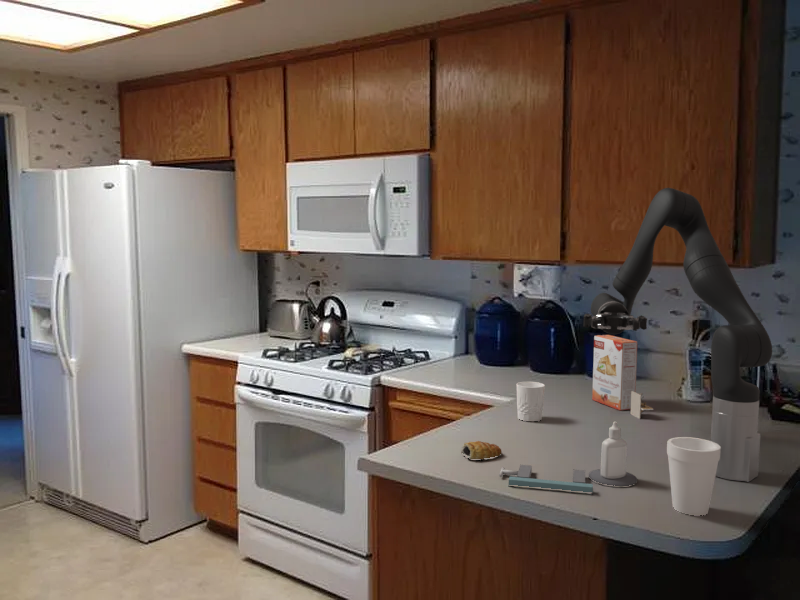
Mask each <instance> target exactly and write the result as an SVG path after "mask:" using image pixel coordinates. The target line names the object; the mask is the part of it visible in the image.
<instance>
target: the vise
mask: <svg viewBox="0 0 800 600" xmlns="http://www.w3.org/2000/svg"><path fill="white" fill-rule="evenodd" d="M532 467H533V466H532V464H531V465H529V464H520V465H519V467H518V470H511V469H506V468H505V467H503V466H502V467H501V468H500V472H499V475H498V476H499V477H500V478H501V477H503V475H505V474H507V476H509V478H508V486H509V485H518V486H529V487H541V488H551V489H562V490H571V491H583V492H592V493H593V494H594V491H593V489H594V488H593V487H594V485H593V483H586V470H585V469H577V468H576V469H575V468H574V469H573V470H572V471H573V472H572V481H562V480H551V479H541V478H531V476H532V471H533V470H532ZM515 475H517V476H515ZM530 475H531V476H530Z"/></svg>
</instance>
